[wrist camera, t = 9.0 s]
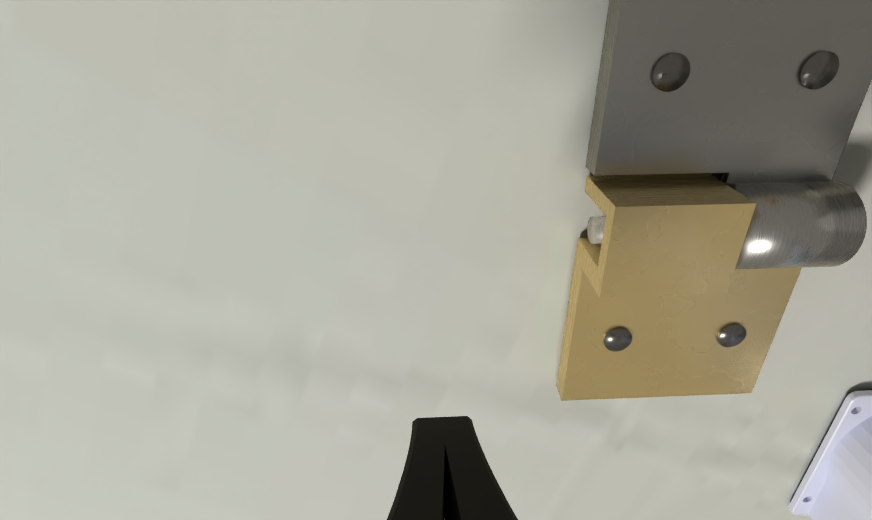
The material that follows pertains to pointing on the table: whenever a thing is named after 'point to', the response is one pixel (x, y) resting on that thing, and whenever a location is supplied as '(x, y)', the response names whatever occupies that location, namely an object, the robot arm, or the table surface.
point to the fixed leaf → (741, 112)
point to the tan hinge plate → (668, 293)
